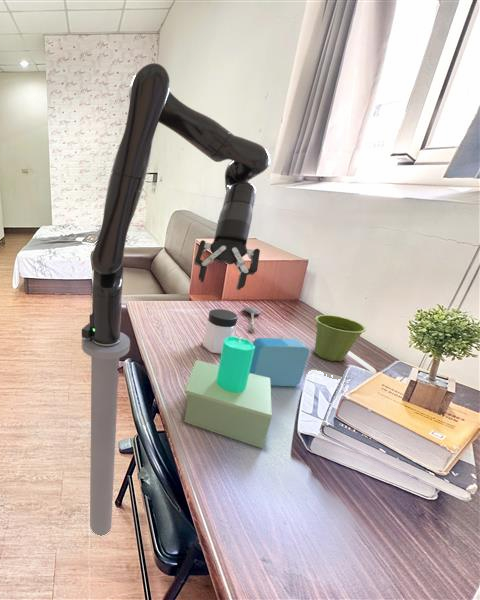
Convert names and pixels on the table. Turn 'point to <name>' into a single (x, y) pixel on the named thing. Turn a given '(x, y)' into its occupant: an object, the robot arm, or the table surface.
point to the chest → (227, 420)
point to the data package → (279, 360)
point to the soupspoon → (252, 315)
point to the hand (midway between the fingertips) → (220, 285)
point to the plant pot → (336, 336)
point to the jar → (219, 329)
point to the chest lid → (249, 400)
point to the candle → (235, 364)
